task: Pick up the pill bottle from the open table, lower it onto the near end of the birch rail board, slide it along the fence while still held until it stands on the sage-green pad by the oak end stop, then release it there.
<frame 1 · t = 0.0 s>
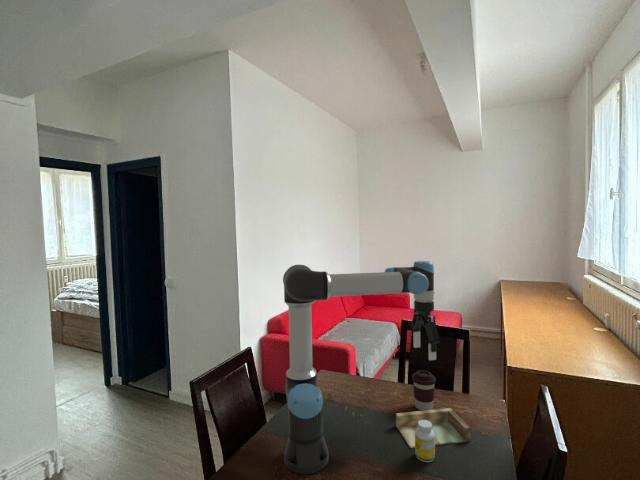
hand: (424, 353, 136), 28 cm above the table, fingers open, 13 cm apart
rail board: (430, 433, 129), on the table
coffee cup: (424, 407, 148), on the table
pill bottle: (425, 457, 116), on the table
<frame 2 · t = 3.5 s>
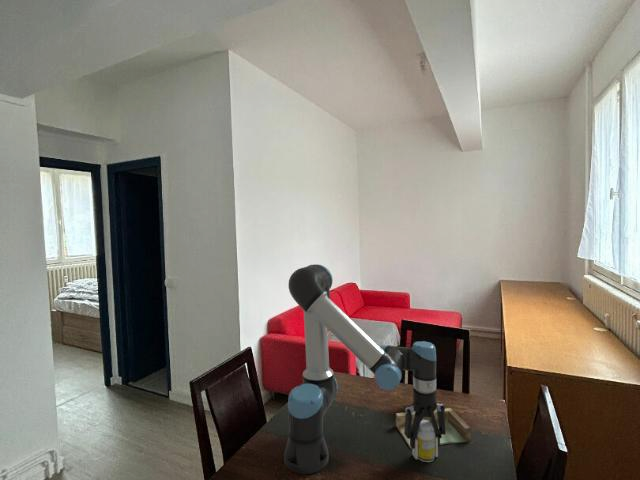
hand: (425, 455, 116), 0 cm above the table, fingers closed on pill bottle, 6 cm apart
pill bottle: (425, 457, 116), on the table, touching gripper
everything else where it was.
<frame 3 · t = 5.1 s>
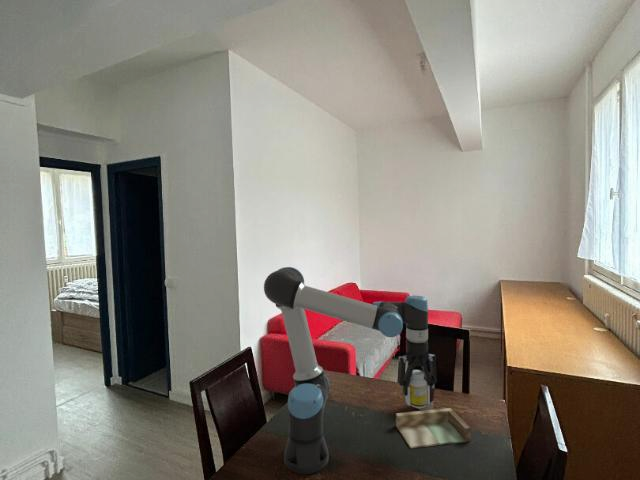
hand: (417, 402, 123), 15 cm above the table, fingers closed on pill bottle, 6 cm apart
pill bottle: (417, 404, 123), point 14 cm above the table, touching gripper
everything else where it was.
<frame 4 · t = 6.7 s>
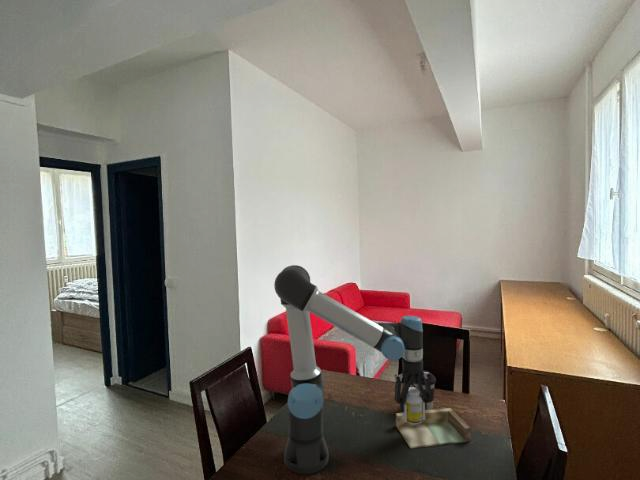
hand: (413, 418, 128), 6 cm above the table, fingers closed on pill bottle, 6 cm apart
pill bottle: (413, 420, 128), point 6 cm above the table, touching gripper
everything else where it was.
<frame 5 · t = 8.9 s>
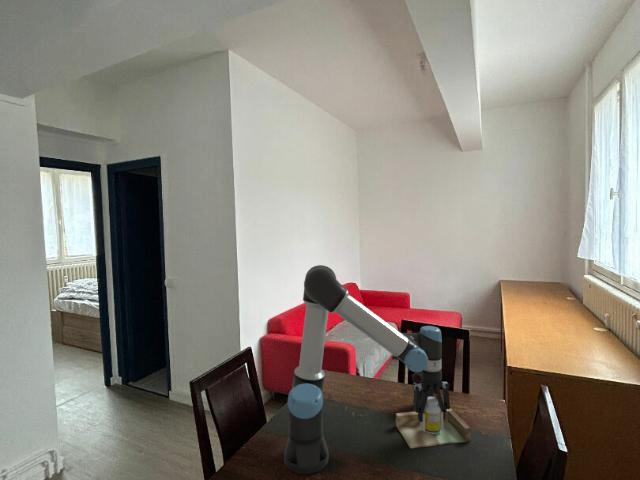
hand: (431, 428, 129), 2 cm above the table, fingers closed on pill bottle, 6 cm apart
pill bottle: (431, 430, 129), point 1 cm above the table, touching gripper
everything else where it was.
when the fingers open (1 cm above the table, at t = 10.3 s): pill bottle stays where it is, resting on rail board.
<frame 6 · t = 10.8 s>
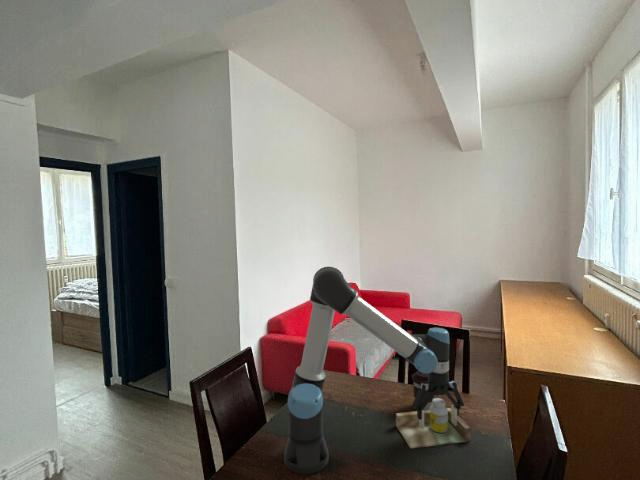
hand: (438, 425, 130), 3 cm above the table, fingers open, 12 cm apart
pill bottle: (438, 431, 130), resting on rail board
everything else where it was.
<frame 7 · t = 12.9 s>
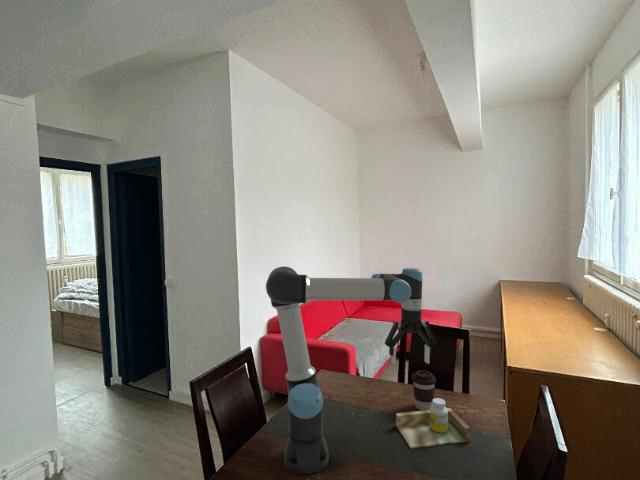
hand: (410, 363, 132), 26 cm above the table, fingers open, 13 cm apart
nothing on the table moved.
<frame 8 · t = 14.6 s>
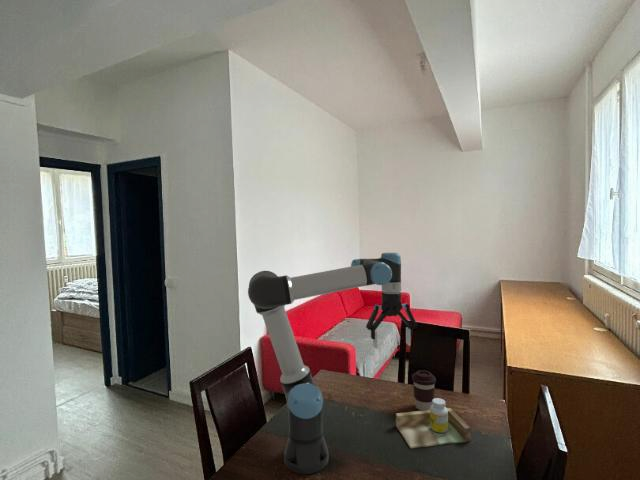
hand: (391, 345, 134), 32 cm above the table, fingers open, 13 cm apart
nothing on the table moved.
at the end: pill bottle inside the target area (1.1 cm from its centre), resting on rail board; pill bottle tilted 0°; the gripper is holding nothing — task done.
